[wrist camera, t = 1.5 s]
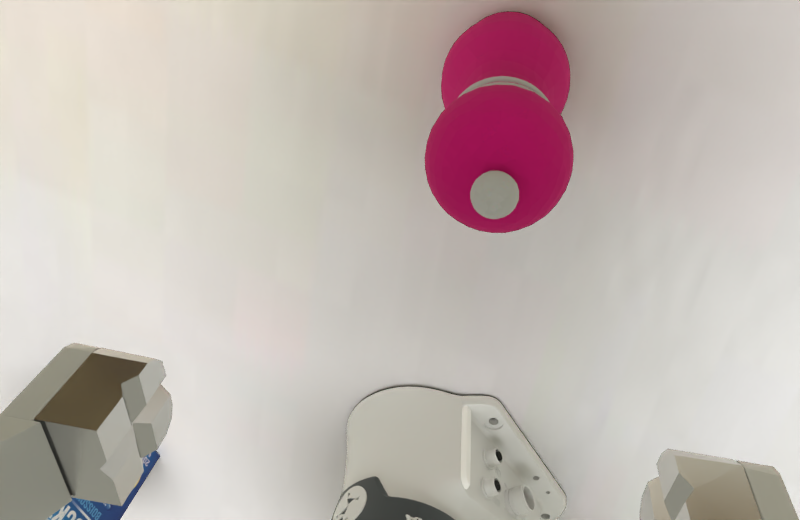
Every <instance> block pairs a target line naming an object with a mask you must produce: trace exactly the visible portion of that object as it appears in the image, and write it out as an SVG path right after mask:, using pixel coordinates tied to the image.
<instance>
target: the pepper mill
mask: <svg viewBox="0 0 800 520" xmlns="http://www.w3.org/2000/svg"><path fill="white" fill-rule="evenodd" d="M569 87H570V68H569V62H568V58H567V55H566V52H565V50H564V48H563V46H562V44H561V43H560V42H559V40H558V39H557V37H556V36H555V35H554V34H553V33H552V32H551V31H550V30H549V29H548V28H546V27H545V26H544V25H543V24H541V23H540V22H539V21H538V20H536V19H535V18H533V17H531V16H529V15H526V14H523V13H519V12H501V13H496V14H493V15H490V16H488V17H486V18H484V19H482V20H481V21H479V22H478V23H477V24H475V25H473V26H471V27H470V28H469V29H468V30H467V31H465V32H464V33H463V34H462V35H461V36H460V37H459V38H458V39H457V41H456V42H455V43H454V44H453V46H452V48H451V49H450V51H449V53H448V55H447V58H446V60H445V63H444V67H443V72H442V83H441V91H442V99H443V103H444V107H445V110H444V111H443V112H442V113H441V114H440V116H439V118H438V119H437V121H436V123H435V124H434V126H433V127H432V129H431V132H430V135H429V138H428V141H427V146H426V153H425V170H426V175H427V180H428V183H429V186H430V188H431V191H432V193H433V195H434V197H435V198H436V200H437V201H438V203H439V204H440V206H441V207H442V208H443V209H444V210H445V211H446V212H447V213H448V214H449V215H450V216H452V217H453V218H454V219H456V220H457V221H459V222H461V223H462V224H464V225H466V226H468V227H471V228H473V229H476V230H479V231H485V232H491V233H506V232H511V231H516V230H519V229H522V228H525V227H527V226H530V225H532V224H534V223H535V222H537V221H538V220H540V219H541V218H543V217H544V216H546V215H547V214H548V213H549V212H550V211H551V210H552V209H553V208H554V207H555V205H556V204H557V203H558V201H559V200H560V198H561V197H562V195H563V193H564V192H565V190H566V188H567V185H568V183H569V180H570V177H571V173H572V167H573V147H572V142H571V137H570V133H569V130H568V128H567V126H566V124H565V122H564V120H563V118H562V116H561V115H560V114H561V112H562V111H563V108H564V106H565V103H566V101H567V98H568V93H569Z"/></svg>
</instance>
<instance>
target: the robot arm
mask: <svg viewBox="0 0 800 520" xmlns="http://www.w3.org/2000/svg"><path fill="white" fill-rule="evenodd" d="M165 377H166V373H165V369H164V366H163V362H162V361H160V360H157V359H154V358H149V357H144V356H139V355H134V354H129V353H125V352H120V351H115V350H110V349H105V348H98V347H93V346H88V345H83V344H78V343H73V344H70V345H68V346H66V347H64V348H63V349H62V350H61V351H60V352H59V353H58V354H57V355H56V356H55V357H54V358H53V359H52V360H51V361H50V363H49V364H48V365H47V366H46V367H45V368H44V369H43V370H42V371H41V372H40V373H39V374H38V375H37V376H36V377H35V378H34V379H33V380H32V381H31V382H30V384H29V385H28V386H27V387H26V388H25V389H24V390H23V391H22V392H21V393H20V394H19V395H18V396H17V397H16V398H15V399H14V400H13V401H12V402H11V404H10V405H9V406H8V407H7V408H6V409H5V410H4V411H3V412H2V413H1V414H0V520H46V519H47V518H48V517H50V516H51V515H53V514H54V513H55V512H57V511H58V510H60V509H61V508H62V507H64V506H65V505H67V504H68V503H69V502H71V501H72V498H78V499H84V500H89V501H95V502H101V503H106V504H112V505H118V506H122V505H123V504H124V502H125V500H126V499H127V497H128V496H129V494H130V492H131V491H132V489H133V488H134V486H135V484H136V483H137V481H138V480H139V478H140V477H141V475H142V473H143V472H144V469H143V462H142V458H143V457H145V456H147V455H148V454H150V453H152V452H154V451H155V450H157V449H158V448H159V446H160V444H161V443H162V441H163V439H164V438H165V436H166V434H167V431H168V428H169V425H170V422H171V419H172V400H171V395H170V393H169V392H168V391H167V390H166V389H165V388H164V387H163V386H162V385H161V382H162V381H163V380H164V378H165ZM492 418H496V419H492ZM346 434H347V458H346V469H345V477H344V484H343V490H342V495H341V497H340V499H339V501H338V504H337V506H336V509H335V511H334V514H333V517H332V519H331V520H556V519H557V518H558V517H559V516H560V515H561V514H562V512H563V511H564V509H565V507H566V496H565V494H564V492H563V491H562V489H561V488H560V486H559V485H558V483H557V482H556V481H555V479H554V478H553V476H552V475H551V474H550V472H549V471H548V469H547V468H546V466H545V465H544V464H543V462H542V461H541V459H540V458H539V457H538V455H537V454H536V452H535V451H534V449H533V448H532V447H531V445H530V444H529V442H528V441H527V440H526V438H525V437H524V435H523V434H522V432H521V431H520V430H519V428H518V427H517V425H516V424H515V423H514V421H513V420H512V418H511V417H510V415H509V414H508V413H507V411H506V410H505V408H504V407H503V405H502V404H501V403H500V402H499V401H498V400H497V399H495V398H493V397H490V396H459V395H454V394H450V393H446V392H442V391H439V390H435V389H430V388H423V387H397V388H391V389H387V390H383V391H380V392H377V393H375V394H373V395H371V396H369V397H367V398H366V399H364V400H363V401H361V402H360V403H359V404H358V405H357V406H356V407H355V408H354V410H353V411H352V413H351V414H350V417H349V419H348V422H347V428H346ZM657 468H658V473H659V477H657V478H655V479H653V480H651V481H649V482H648V483H647V485H646V488H645V490H644V493H643V495H642V500H641V507H640V520H799V519H798V516H797V514H796V511H795V509H794V506H793V504H792V502H791V499H790V497H789V494H788V492H787V490H786V487H785V485H784V482H783V480H782V478H781V475H780V473H779V472H778V471H777V470H776V469H775V468H774V467H772V466H766V465H760V464H754V463H748V462H743V461H735V460H733V459H727V458H721V457H715V456H709V455H703V454H697V453H691V452H685V451H679V450H673V449H667V450H665V451H664V452H663V453H662V454H661V456H660V458H659V460H658V462H657ZM71 497H72V498H71Z"/></svg>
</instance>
